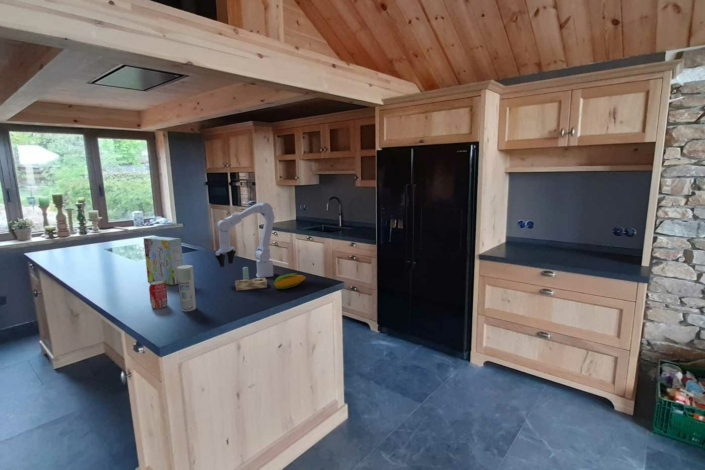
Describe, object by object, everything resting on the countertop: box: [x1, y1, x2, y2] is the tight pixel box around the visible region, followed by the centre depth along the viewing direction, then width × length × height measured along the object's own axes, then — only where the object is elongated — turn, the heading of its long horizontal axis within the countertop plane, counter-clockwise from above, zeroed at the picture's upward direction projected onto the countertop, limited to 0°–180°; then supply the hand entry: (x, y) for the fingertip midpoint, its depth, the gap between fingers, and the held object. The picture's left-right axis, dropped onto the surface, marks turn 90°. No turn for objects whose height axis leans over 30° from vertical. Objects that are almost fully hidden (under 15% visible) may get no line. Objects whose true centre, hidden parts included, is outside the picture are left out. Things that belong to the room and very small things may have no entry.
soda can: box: [148, 280, 168, 310], centre depth 174 cm, size 7×7×12 cm
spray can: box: [177, 264, 197, 312], centre depth 170 cm, size 6×6×20 cm
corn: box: [273, 272, 307, 290], centre depth 203 cm, size 7×8×20 cm
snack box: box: [143, 236, 184, 286], centre depth 212 cm, size 22×9×26 cm, turn 65°
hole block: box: [234, 277, 268, 291], centre depth 203 cm, size 16×8×4 cm, turn 110°
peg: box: [242, 266, 250, 280], centre depth 209 cm, size 3×3×9 cm
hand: (226, 265), depth 212 cm, fingers open, 7 cm apart
